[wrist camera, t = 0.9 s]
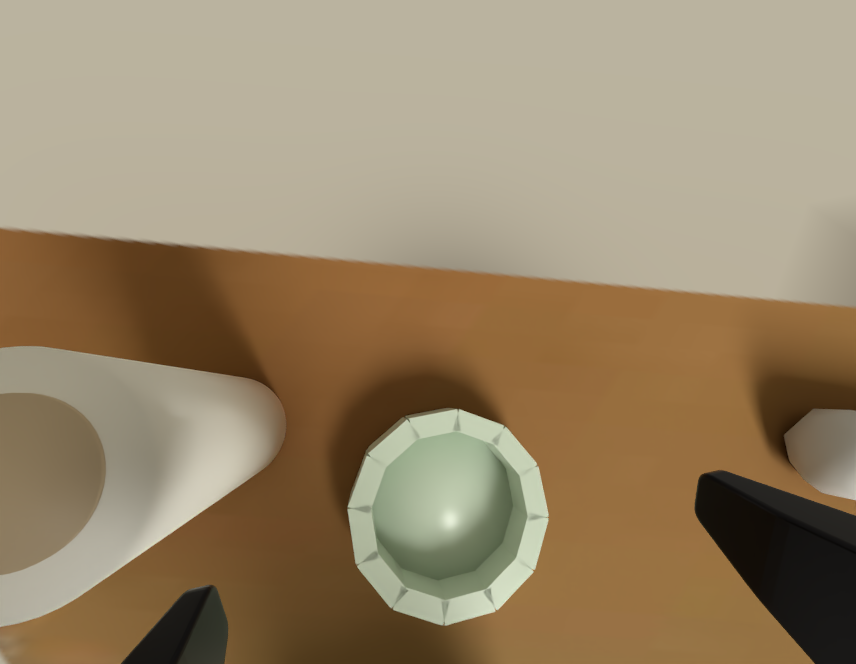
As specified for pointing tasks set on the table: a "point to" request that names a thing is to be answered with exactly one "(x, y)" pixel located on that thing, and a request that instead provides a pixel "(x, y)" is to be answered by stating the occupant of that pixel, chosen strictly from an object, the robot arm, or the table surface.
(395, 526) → the holder
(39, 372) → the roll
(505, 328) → the table surface
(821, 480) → the tube
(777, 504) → the robot arm
